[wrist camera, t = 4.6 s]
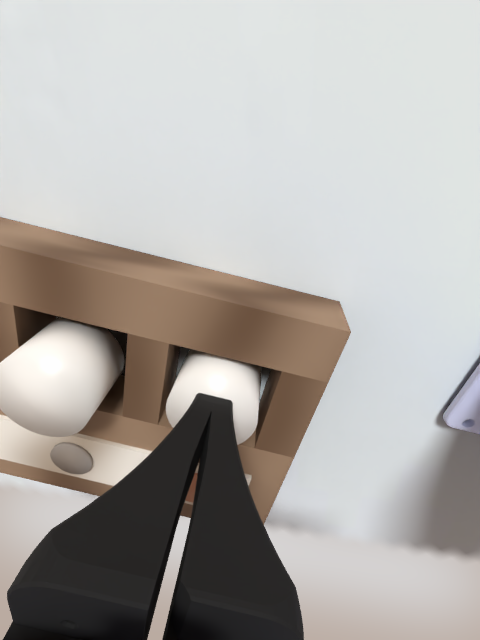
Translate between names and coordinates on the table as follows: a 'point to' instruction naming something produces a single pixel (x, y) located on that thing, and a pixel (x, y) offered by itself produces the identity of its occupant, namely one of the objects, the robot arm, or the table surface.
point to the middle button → (60, 377)
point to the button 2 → (218, 389)
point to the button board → (160, 354)
